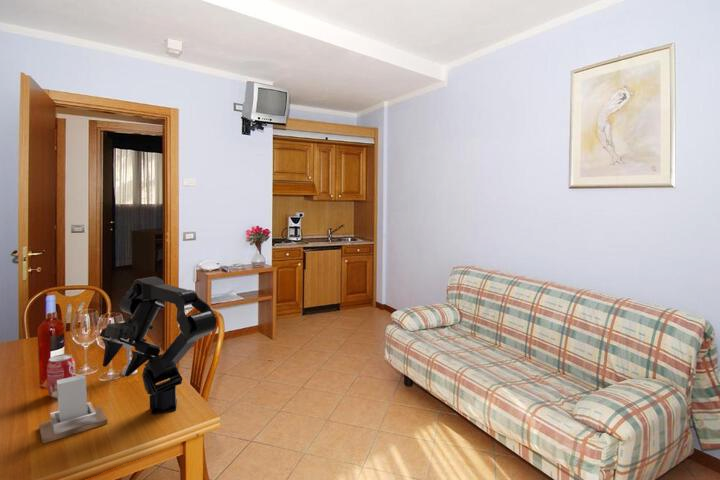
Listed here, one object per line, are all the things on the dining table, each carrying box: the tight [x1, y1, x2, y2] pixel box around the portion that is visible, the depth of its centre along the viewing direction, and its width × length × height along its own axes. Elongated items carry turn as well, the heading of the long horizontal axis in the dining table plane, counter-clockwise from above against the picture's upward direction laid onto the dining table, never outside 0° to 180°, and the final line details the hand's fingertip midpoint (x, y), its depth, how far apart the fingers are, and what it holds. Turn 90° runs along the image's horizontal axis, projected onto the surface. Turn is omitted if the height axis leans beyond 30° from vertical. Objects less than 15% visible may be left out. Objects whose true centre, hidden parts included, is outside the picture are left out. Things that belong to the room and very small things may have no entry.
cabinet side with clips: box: [38, 401, 108, 444], centre depth 108 cm, size 14×9×4 cm, turn 133°
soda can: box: [46, 353, 76, 399], centre depth 125 cm, size 7×7×12 cm
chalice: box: [118, 320, 138, 376], centre depth 141 cm, size 7×7×18 cm
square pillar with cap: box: [52, 373, 88, 423], centre depth 107 cm, size 7×5×12 cm
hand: (115, 371), depth 113 cm, fingers open, 9 cm apart
